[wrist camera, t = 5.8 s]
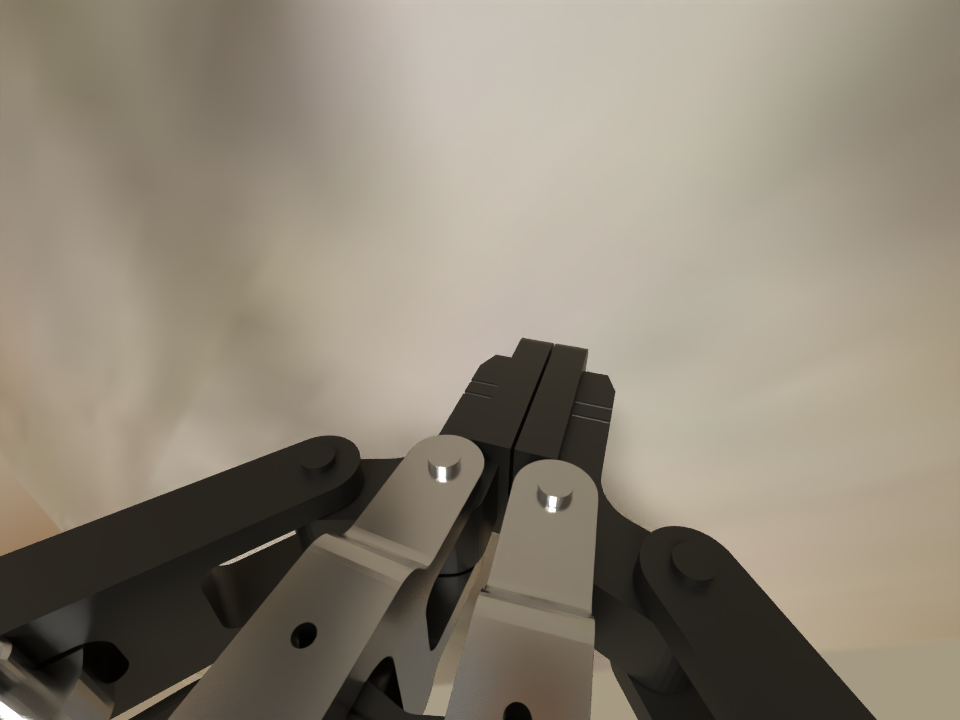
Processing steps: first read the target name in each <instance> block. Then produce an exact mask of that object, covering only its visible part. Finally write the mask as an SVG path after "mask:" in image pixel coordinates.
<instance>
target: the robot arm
mask: <svg viewBox="0 0 960 720" xmlns="http://www.w3.org/2000/svg"><path fill="white" fill-rule="evenodd" d="M587 357H588V349H584V348H578V347H573V346H567V345H561V344H555V346H554V343H549V342H543V341H538V340H532V339H526V338H522V339H521V340H520V342H519V344H518V346H517V348H516V350H515V352H514V354H513V356H512V358H511V357H505V356H500V355H495V356H493V357H492V358H490V359H489V360H487V361H486V362H484V363H483V364H481V365H480V366H479V368H478V370H477V372H476V373H475V375H474V377H473V378H472V382H470V383H469V385H468V387H467V388H466V390H465V394H463V395H462V397H461V398H460V400H459V402H458V403H457V405H456V407H455V409H454V410H453V412H452V414H451V415H450V417H449V419H448V420H447V422H446V424H445V425H444V427H443V429H442V430H441V432H440V434H439V435H438V436H433V437H429V438H427V439H424V440H422V441H421V442H419V443H417V444H416V445H415V446H414V447H413V448H412V449H411V450H410V451H409V452H408V454H407V455H406V456H405V457H403V458H396V459H361V458H360V453H359V450H358V448H357V447H356V445H355V444H354V443H353V442H351V441H350V440H348V439H346V438H343V437H339V436H319V437H314V438H311V439H308V440H305V441H303V442H300V443H297V444H295V445H292V446H289V447H287V448H284V449H282V450H279V451H276V452H274V453H271V454H268V455H266V456H263V457H260V458H258V459H255V460H253V461H250V462H247V463H245V464H242V465H239V466H237V467H234V468H232V469H229V470H226V471H224V472H221V473H218V474H216V475H213V476H210V477H208V478H205V479H203V480H200V481H197V482H195V483H192V484H189V485H187V486H184V487H182V488H179V489H176V490H174V491H171V492H168V493H166V494H163V495H160V496H158V497H155V498H153V499H150V500H147V501H145V502H142V503H139V504H137V505H134V506H132V507H129V508H126V509H124V510H121V511H118V512H116V513H113V514H111V515H108V516H105V517H103V518H100V519H97V520H95V521H92V522H89V523H87V524H84V525H82V526H79V527H76V528H74V529H71V530H68V531H66V532H63V533H61V534H58V535H55V536H53V537H50V538H47V539H45V540H42V541H40V542H37V543H34V544H32V545H29V546H26V547H24V548H21V549H18V550H16V551H13V552H11V553H8V554H5V555H3V556H0V720H110V719H112V718H114V717H116V716H118V715H120V714H121V713H123V712H125V711H127V710H129V709H131V708H132V707H134V706H136V705H138V704H140V703H142V702H143V701H145V700H147V699H149V698H151V697H153V696H154V695H156V694H158V693H160V692H162V691H163V690H165V689H167V688H169V687H171V686H173V685H175V684H176V683H178V682H180V681H182V680H184V679H186V678H188V677H189V676H191V675H193V674H195V673H197V672H199V671H200V670H202V669H204V668H206V667H208V666H210V665H211V664H213V665H212V666H211V667H210V668H209V669H208V671H207V672H206V673H205V674H204V676H203V677H202V678H200V679H198V680H196V681H194V682H193V683H191V684H189V685H187V686H185V687H184V688H182V689H180V690H178V691H177V692H175V693H173V694H172V695H170V696H168V697H167V698H165V699H163V700H161V701H160V702H158V703H156V704H155V705H153V706H151V707H149V708H148V709H146V710H144V711H143V712H141V713H139V714H137V715H136V716H134V717H132V718H131V719H129V720H590V715H591V696H592V678H593V660H594V649H595V650H597V651H598V652H600V653H601V654H602V655H604V656H605V657H606V658H608V659H609V660H610V663H611V667H612V670H613V672H614V675H615V677H616V679H617V681H618V683H619V684H620V686H621V688H622V690H623V692H624V694H625V696H626V698H627V700H628V702H629V703H630V705H631V707H632V709H633V711H634V713H635V715H636V717H637V719H638V720H876V718H875V717H874V716H873V715H872V714H871V713H870V712H869V710H868V709H867V708H866V707H865V706H864V705H863V704H862V702H861V701H860V700H859V699H858V698H857V697H856V696H855V694H854V693H853V692H852V691H851V690H850V689H849V688H848V686H847V685H846V684H845V683H844V682H843V681H842V680H841V678H840V677H839V676H838V675H837V674H836V673H835V672H834V671H833V669H832V668H831V667H830V666H829V665H828V664H827V663H826V661H825V660H824V659H823V658H822V657H821V656H820V655H819V653H818V652H817V651H816V650H815V649H814V648H813V647H812V645H811V644H810V643H809V642H808V641H807V640H806V639H805V637H804V636H803V635H802V634H801V633H800V632H799V631H798V630H797V628H796V627H795V626H794V625H793V624H792V623H791V622H790V620H789V619H788V618H787V617H786V616H785V615H784V614H783V612H782V611H781V610H780V609H779V608H778V607H777V606H776V604H775V603H774V602H773V601H772V600H771V599H770V598H769V597H768V595H767V594H766V593H765V592H764V591H763V590H762V589H761V587H760V586H759V585H758V584H757V583H756V582H755V581H754V579H753V578H752V577H751V576H750V575H749V574H748V573H747V571H746V570H745V569H744V568H743V567H742V566H741V565H740V564H739V562H738V561H737V560H736V559H735V558H734V557H733V556H732V554H731V553H730V552H729V551H728V550H727V549H726V548H725V547H724V546H722V545H721V544H720V543H719V542H717V541H716V540H715V539H713V538H711V537H710V536H708V535H706V534H704V533H702V532H700V531H697V530H694V529H691V528H687V527H680V526H668V527H663V528H659V529H657V530H655V531H653V532H652V533H651V532H649V531H647V530H646V529H644V528H642V527H640V526H639V525H637V524H635V523H633V522H631V521H630V520H628V519H627V518H625V517H624V516H622V515H621V514H620V513H619V512H617V511H616V510H615V508H614V507H613V506H612V505H611V504H610V503H609V501H608V500H607V498H606V496H605V494H604V492H603V489H602V485H601V474H602V468H603V462H604V456H605V450H606V444H607V438H608V432H609V426H610V420H611V414H612V408H613V402H614V396H615V390H614V388H613V385H612V383H611V381H610V379H609V377H608V375H602V374H597V373H591V372H586V371H585V370H586V364H587ZM294 530H295V531H296V534H295V535H293V536H291V537H288V538H286V539H284V540H282V541H280V542H278V543H275V544H273V545H271V546H269V547H267V548H265V549H263V550H260V551H258V552H256V553H254V554H252V555H250V556H248V557H245V558H243V559H241V560H239V561H237V562H235V563H232V564H229V565H224V566H218V565H220V564H222V563H224V562H226V561H229V560H231V559H233V558H235V557H237V556H239V555H242V554H244V553H246V552H248V551H250V550H252V549H255V548H257V547H259V546H261V545H263V544H265V543H268V542H270V541H272V540H274V539H276V538H278V537H281V536H283V535H285V534H287V533H289V532H291V531H294ZM492 531H493V532H496V533H499V534H500V536H499V540H498V544H497V547H496V551H495V555H494V559H493V563H492V567H491V571H490V575H489V578H488V582H487V585H486V587H485V589H484V588H482V589H481V591H480V593H479V596H478V598H477V601H476V604H475V608H474V611H473V615H472V619H471V622H470V626H469V630H468V633H467V637H466V641H465V645H464V648H463V652H462V656H461V660H460V663H459V667H458V671H457V674H456V678H455V682H454V686H453V690H452V693H451V697H450V701H449V705H448V708H447V712H446V715H445V717H443V716H430V715H423V713H424V710H425V708H426V705H427V702H428V699H429V696H430V693H431V690H432V686H433V681H434V676H435V672H436V668H437V665H438V662H439V660H440V657H441V655H442V652H443V650H444V648H445V646H446V644H447V642H448V639H449V637H450V635H451V633H452V631H453V628H454V626H455V624H456V622H457V620H458V618H459V615H460V613H461V611H462V609H463V607H464V604H465V602H466V600H467V598H468V596H469V594H470V591H471V589H472V587H473V585H474V583H475V580H476V578H477V576H478V574H479V572H480V570H481V567H482V563H483V554H484V552H485V549H486V547H487V544H488V541H489V539H490V536H491V533H492Z"/></svg>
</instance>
